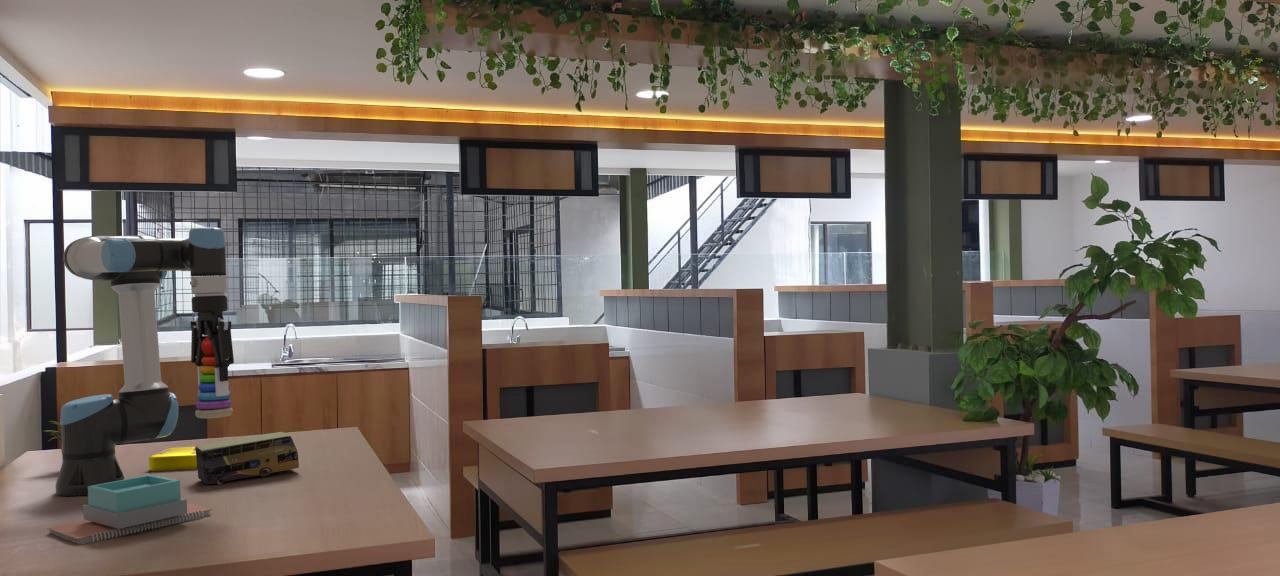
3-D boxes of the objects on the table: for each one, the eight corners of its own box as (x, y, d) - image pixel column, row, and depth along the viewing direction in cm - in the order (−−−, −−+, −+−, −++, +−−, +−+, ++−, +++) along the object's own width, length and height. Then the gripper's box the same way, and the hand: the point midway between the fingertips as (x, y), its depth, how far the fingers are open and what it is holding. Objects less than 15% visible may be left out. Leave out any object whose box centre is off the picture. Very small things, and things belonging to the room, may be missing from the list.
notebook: (80, 548, 187) (79, 538, 187) (47, 536, 198) (46, 526, 198) (214, 517, 208) (214, 508, 208) (178, 508, 219) (178, 499, 219)
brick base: (83, 519, 201) (82, 486, 201) (150, 504, 212) (149, 473, 212) (118, 529, 191) (117, 494, 191) (187, 513, 202) (185, 480, 202)
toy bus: (300, 472, 252) (296, 434, 252) (205, 489, 239) (201, 450, 239) (290, 466, 261) (286, 430, 260) (198, 483, 247) (194, 445, 247)
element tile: (168, 462, 278) (167, 446, 278) (221, 459, 280) (220, 443, 280) (146, 472, 263) (145, 455, 263) (202, 469, 265) (202, 452, 265)
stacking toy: (218, 419, 214) (215, 336, 214) (187, 419, 216) (184, 337, 216) (240, 413, 222) (237, 333, 222) (210, 414, 224) (206, 334, 223)
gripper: (171, 296, 222) (175, 394, 222) (216, 295, 210) (220, 399, 210) (202, 294, 228) (206, 390, 228) (248, 293, 216) (252, 394, 216)
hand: (213, 394), depth 219 cm, fingers closed on stacking toy, 7 cm apart
